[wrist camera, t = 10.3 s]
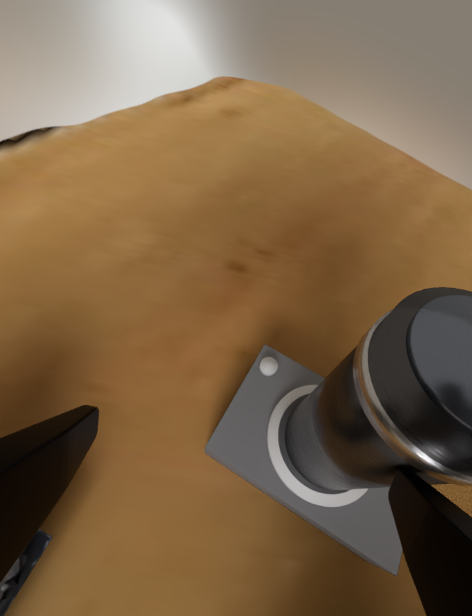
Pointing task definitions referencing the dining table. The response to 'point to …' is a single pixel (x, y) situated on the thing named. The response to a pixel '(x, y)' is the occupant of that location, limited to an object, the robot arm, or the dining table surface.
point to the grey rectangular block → (280, 471)
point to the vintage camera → (22, 569)
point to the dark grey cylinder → (394, 401)
